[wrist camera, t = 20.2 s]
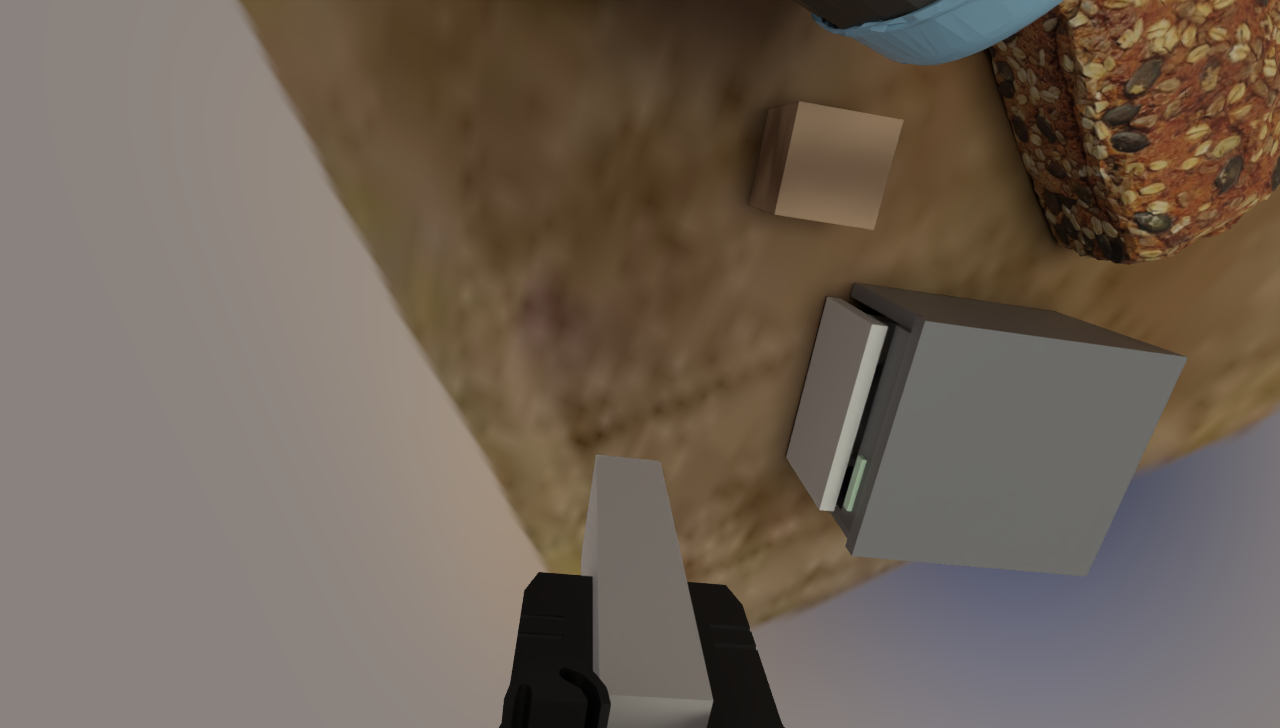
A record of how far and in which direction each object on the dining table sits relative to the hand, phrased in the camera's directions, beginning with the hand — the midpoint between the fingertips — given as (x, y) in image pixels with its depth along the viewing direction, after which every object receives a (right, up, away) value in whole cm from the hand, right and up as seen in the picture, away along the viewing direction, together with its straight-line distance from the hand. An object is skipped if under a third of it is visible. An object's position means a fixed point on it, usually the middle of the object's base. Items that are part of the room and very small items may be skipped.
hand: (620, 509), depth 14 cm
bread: (+29, +21, +25) cm, 44 cm away
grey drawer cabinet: (+22, +1, +31) cm, 38 cm away
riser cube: (+11, +16, +25) cm, 32 cm away
